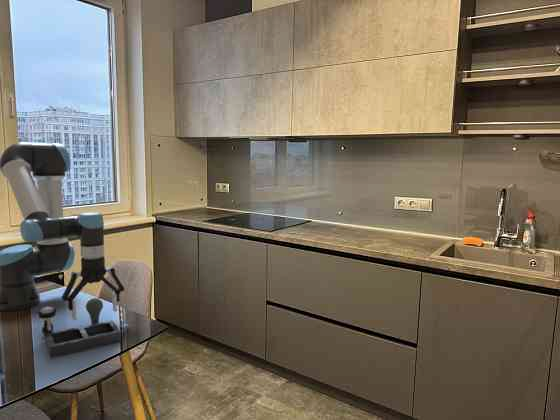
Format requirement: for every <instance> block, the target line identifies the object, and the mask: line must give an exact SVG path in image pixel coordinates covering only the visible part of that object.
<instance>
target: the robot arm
mask: <svg viewBox="0 0 560 420" xmlns="http://www.w3.org/2000/svg"><path fill="white" fill-rule="evenodd" d="M70 170H71V157H70V154H69V151H68V150H67V148H66V147H65V146H64V144H61V143H54V142H29V141H28V142H26V141H20V142H16V143H13V144H11V145H9V146H8V147H7V148H5V150H4V151H3V153H2V154H1V156H0V172H1V173H2V176H3V177H5V179H7V180H8V182H9V186H10V187H11V190H12V193H13V195H14V197H15V200H16V203H17V206H18V208H19V210H20V212H21V215H22V218H23V220H22V221H21V222H20V226H19V227H20V228H19V229H20V231H19V232H20V235H21V239H22V240H23V241H24V242H26V243H31V242H32V243H35V242H36V247H33V245H31V244H18V245H13V246H9V247H7V248H4V249H2V250H0V311H3V312H13V311H21V310H22V311H23V310H26V309H29V308H32V307H35V306H37V305H38V304H39V303H40V302H41V295H40V293H39V290H38V288H37V287H36V284H35V277H37V276H42V275H43V276H44V275H49V274H54V273H61V272H65V271H69V270H70V269H71V268H72V267H73V264H74V262H75V256H76V255H75V250H74V249H75V247H74V245H73V243H71V242H69V239H68V238H78V237H79V239H80V256H81V261H80V266H81V270H80V272H77V271H76V272H75V271H71V275H70V279H69V282H68V283H67V286H66V288H65V289H64V292H63V294H62V295H61V299H62V301H63V302H67V305H68V306H67V308H68V310H69V311H71V318H72V319H73V321H75V320H77V314H76V313H77V312H76V310H77V309H76V301H75V299H76V297H77V296H78V294H79V293H80V292H81V291H82V290H83V289H84V287H85V286H86V285H87V284H94V283H99V282H101V281H102V282H103V283H105V284H106V285H107V286H108V288H110V289H111V290H112V291H113V292H112V293H111V295H112V310H113V312H115V313H116V312H118V304H117V303H119V302H120V294H121V292H124V291H125V287H124V285H123V283H121V281H120V279H119V278H118V276H117V275H116V272H115V271H116V269H115V268H114V267H113V266H109V267H108V268H106V264H105V263H106V261H105V256H104V255H105V241H104V240H105V236H104V235H105V234H104V233H105V232H104V230H105V229H104V225H105V223H104V215H103V213H101V212H93V211H91V212H89V211H88V212H81V213H80V214H70V215H68V216H64V204H63V203H64V201H63V184H62V180H63V179H64V178H65V177H66V173H68V172H69V171H70ZM31 172H32V173H31ZM35 180H36V181H37V185H36V183H35ZM106 274H108V275H111V277H112V278H113V279H112V280H114V282H115V284H116V285H117V287H118V288H117V287H116V286H114V284H112V283H111V282H110V281H109V280H108V279H107V277H105V276H106ZM79 277H81V278H82V279H80V281H79V283H78V284H77V285H76V287H75V288H74V286H75V283H76V281H77V279H79ZM73 288H74V289H73ZM72 290H73V291H72Z"/></svg>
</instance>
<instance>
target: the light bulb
mask: <svg viewBox="0 0 560 420" xmlns="http://www.w3.org/2000/svg"><path fill="white" fill-rule="evenodd" d="M103 307H104V303H103V300H101V299H100V298H98V297H97V298H96V297H94V298H91V299H89V300H88V301H87V302H86V305H85V309H86V311H87V313H88V315H89V317H90V318H89V319H90V322H91V324H96V323H100V322H99V320H100V315H101V312H102V310H103Z"/></svg>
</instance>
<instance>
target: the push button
mask: <svg viewBox="0 0 560 420" xmlns="http://www.w3.org/2000/svg"><path fill="white" fill-rule="evenodd" d="M56 312H57V309H56V308H54V306H43V307H41V309H40V310H39V311H37V315H38V317H39V318H40V319H42V320H44V321H43V322H44V323H43V326H42V328H41V333H42V338H43V339H44V338H45V334H47V333H52V332H55V331H54V325H53V324H52V318H53V317H55V316H56V314H57V313H56Z"/></svg>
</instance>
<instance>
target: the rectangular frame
mask: <svg viewBox="0 0 560 420" xmlns="http://www.w3.org/2000/svg"><path fill="white" fill-rule="evenodd" d="M44 338H45V346H46V349H47V352H48V356H49V359H54V358H59V357H62V356H67V355H72V354H74V353H80V352H83V351H88V350H92V349H96V348H101V347H104V346H108V345H113V344H118V343H121V342H122V331H121V330H120V329H119V327H118V325H117V324H116V323H115V322H114V320H111V319H110V320H106V321H101V322H99V323H96V324H92V323H91V324H87V325H83V326H77V327H72V328H68V329H67V328H66V329H63V330H58V331H57V330H56V331H54V332H52V333H47V334H45V336H44Z"/></svg>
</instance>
